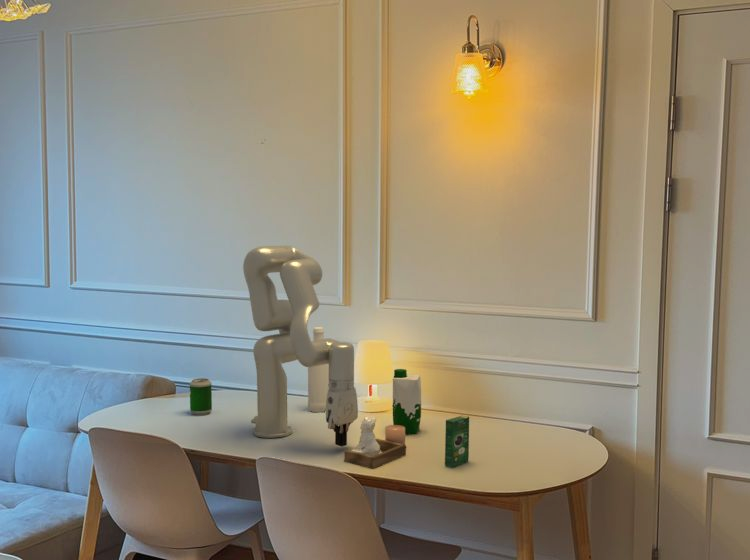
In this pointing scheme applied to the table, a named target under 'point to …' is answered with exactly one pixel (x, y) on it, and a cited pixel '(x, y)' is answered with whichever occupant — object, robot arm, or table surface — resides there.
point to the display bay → (390, 454)
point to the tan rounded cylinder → (395, 434)
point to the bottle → (318, 381)
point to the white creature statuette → (368, 438)
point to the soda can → (200, 396)
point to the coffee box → (457, 441)
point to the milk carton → (406, 400)
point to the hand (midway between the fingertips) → (341, 444)
